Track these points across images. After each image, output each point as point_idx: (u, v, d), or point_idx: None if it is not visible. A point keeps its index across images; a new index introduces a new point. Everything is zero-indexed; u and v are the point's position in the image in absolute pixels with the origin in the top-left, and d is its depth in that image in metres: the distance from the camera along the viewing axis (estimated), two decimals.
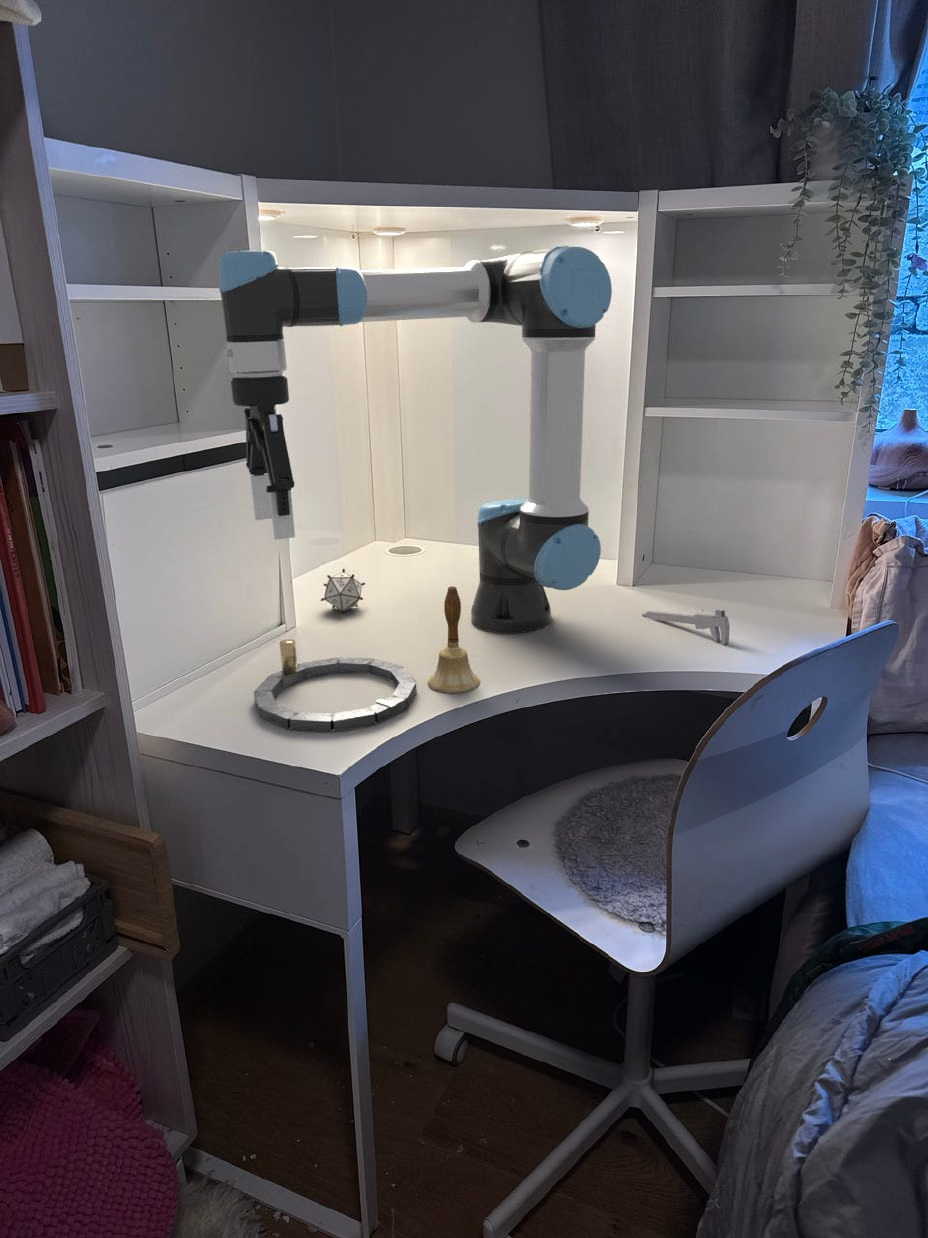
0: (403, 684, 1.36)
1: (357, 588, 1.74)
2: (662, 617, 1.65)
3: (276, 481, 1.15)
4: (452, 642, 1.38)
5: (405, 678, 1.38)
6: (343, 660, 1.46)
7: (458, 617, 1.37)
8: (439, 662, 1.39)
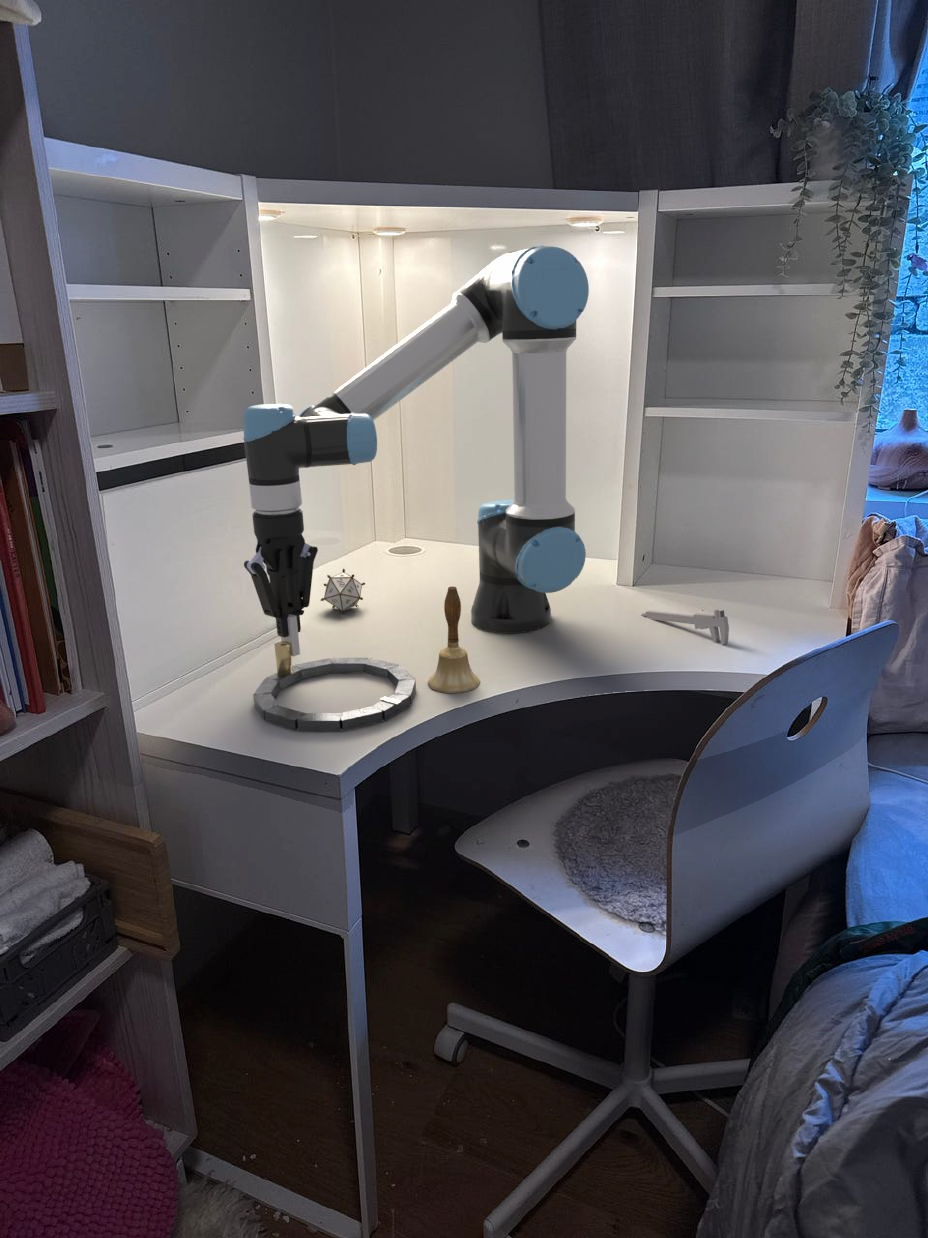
0: (403, 681, 1.37)
1: (357, 588, 1.74)
2: (662, 617, 1.65)
3: (264, 611, 1.38)
4: (452, 642, 1.38)
5: (403, 676, 1.39)
6: (337, 661, 1.46)
7: (458, 617, 1.37)
8: (439, 662, 1.39)
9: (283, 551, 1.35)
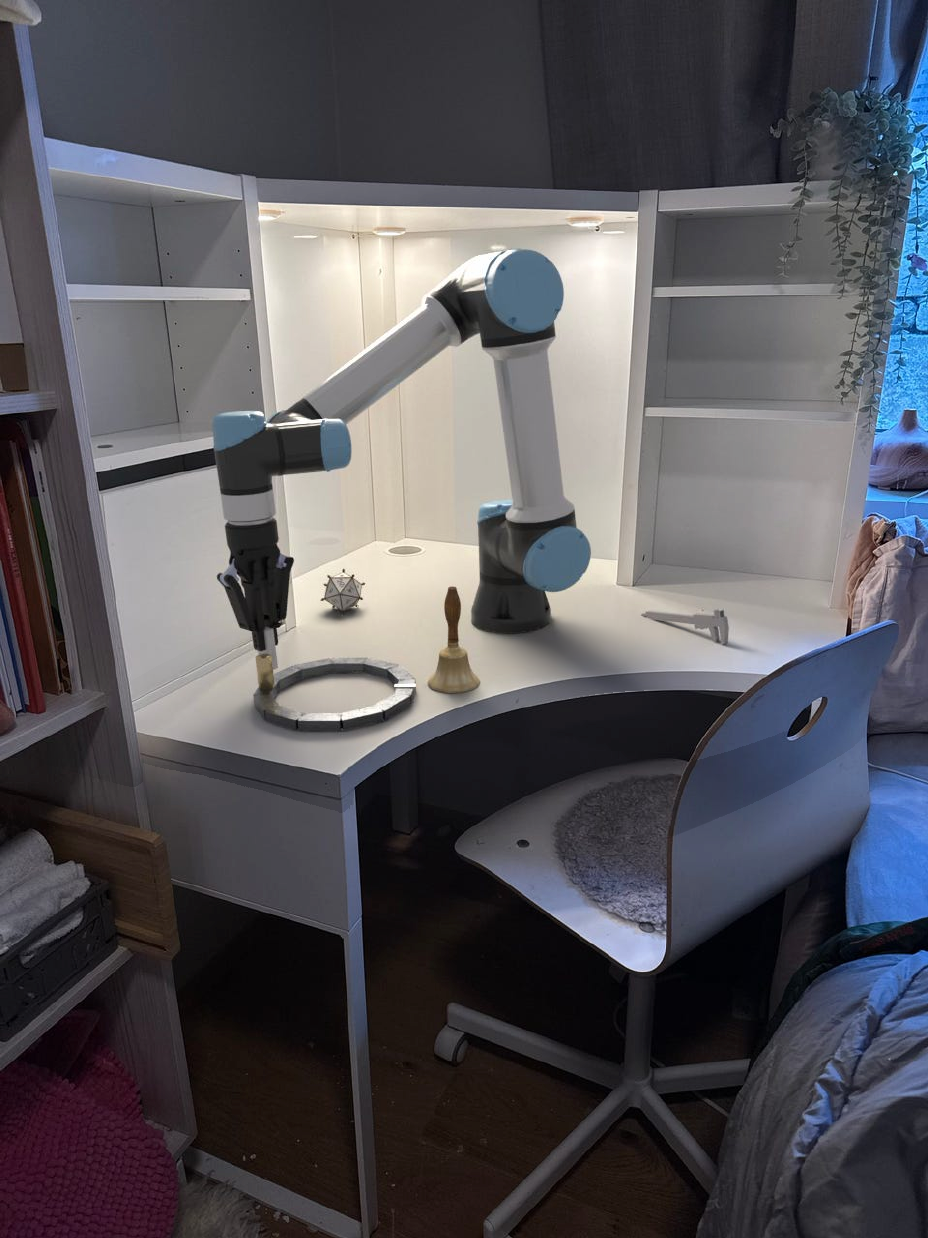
0: (392, 669, 1.42)
1: (357, 588, 1.74)
2: (661, 617, 1.65)
3: (239, 625, 1.34)
4: (452, 642, 1.38)
5: (386, 665, 1.44)
6: (303, 666, 1.44)
7: (458, 617, 1.37)
8: (439, 662, 1.39)
9: (257, 562, 1.31)
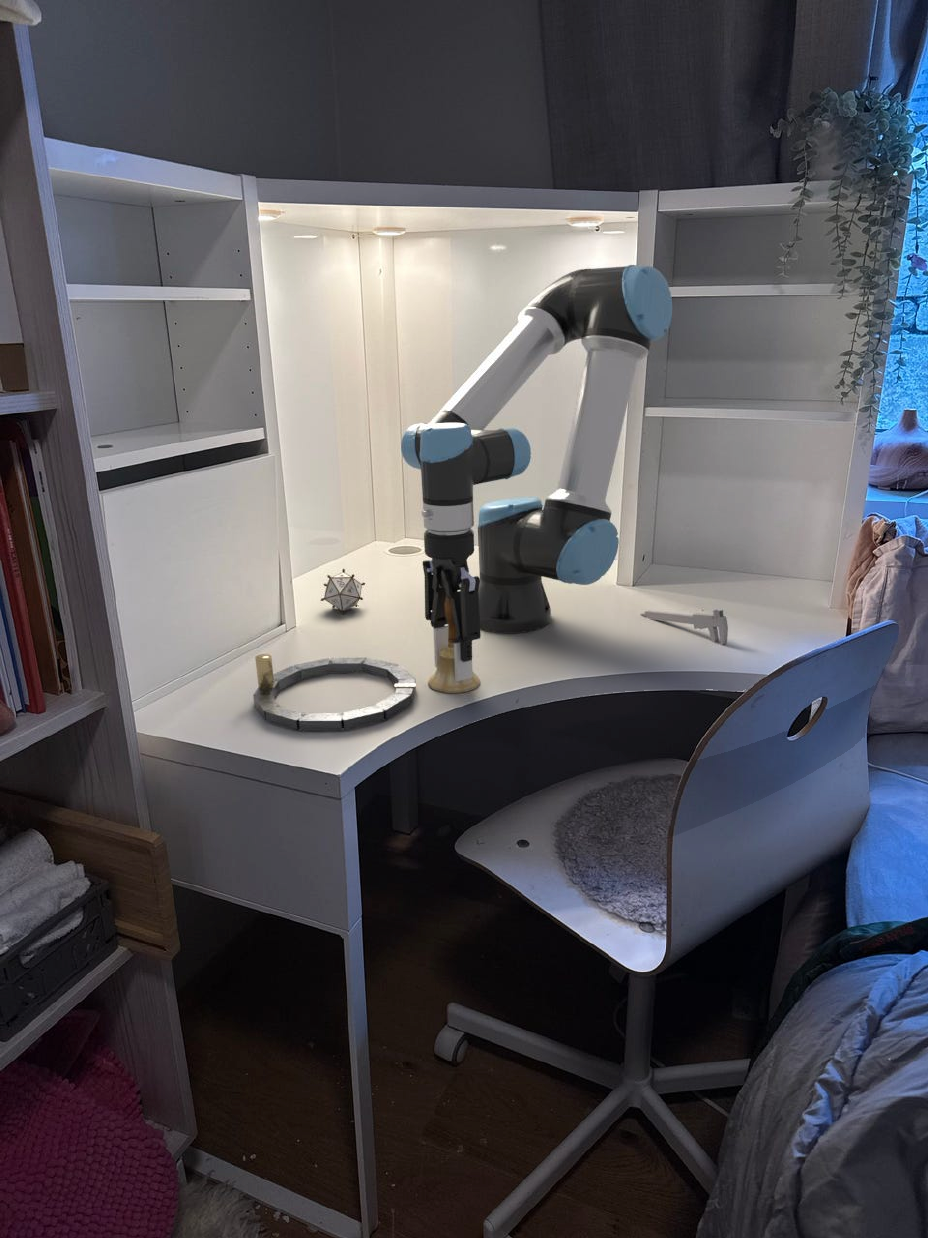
0: (391, 669, 1.42)
1: (357, 588, 1.74)
2: (661, 617, 1.65)
3: (467, 637, 1.32)
4: (452, 642, 1.38)
5: (385, 665, 1.44)
6: (303, 666, 1.44)
7: None
8: (439, 662, 1.39)
9: None
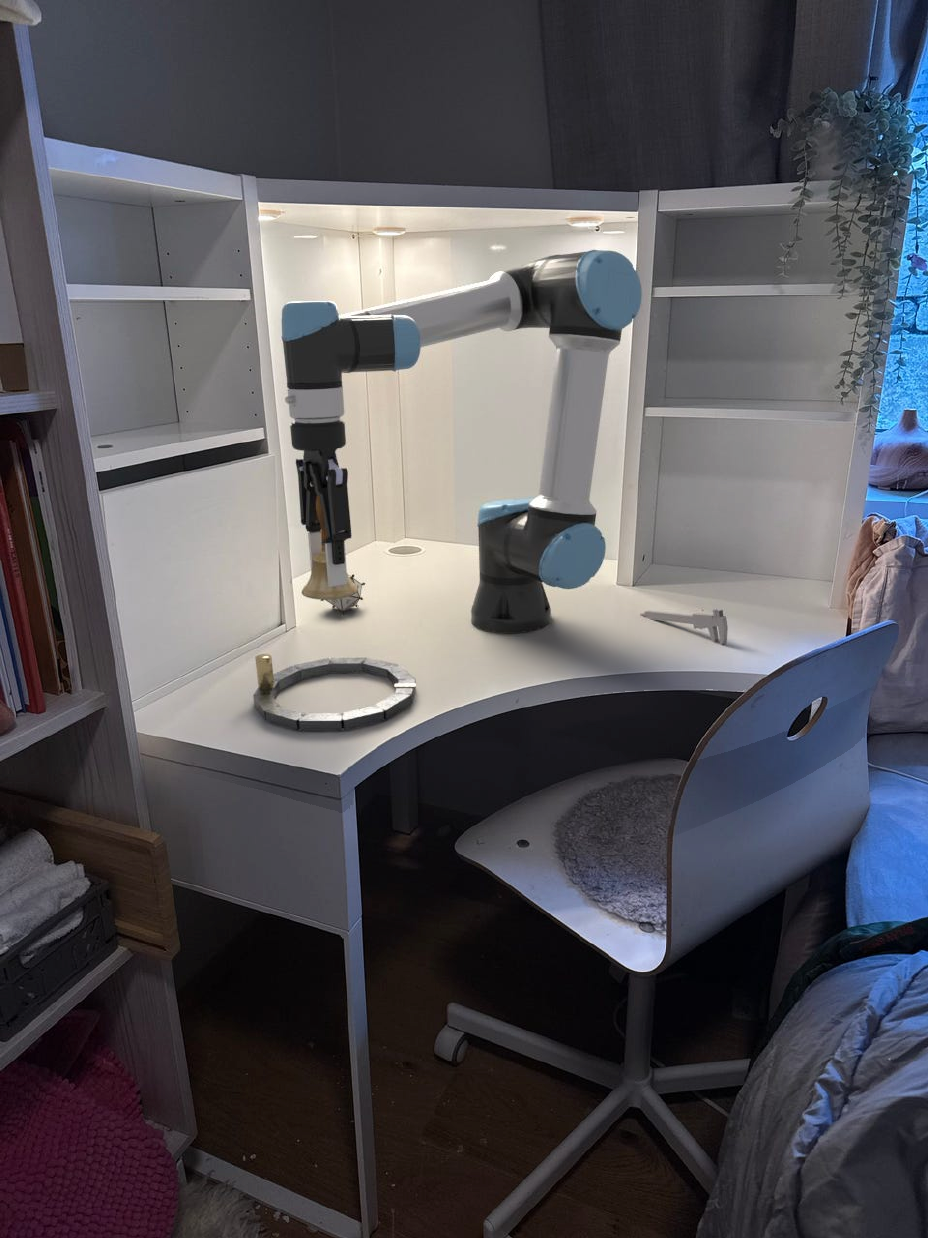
0: (391, 669, 1.42)
1: None
2: (660, 617, 1.65)
3: (336, 535, 1.22)
4: None
5: (385, 665, 1.44)
6: (303, 666, 1.44)
7: None
8: (312, 567, 1.29)
9: None
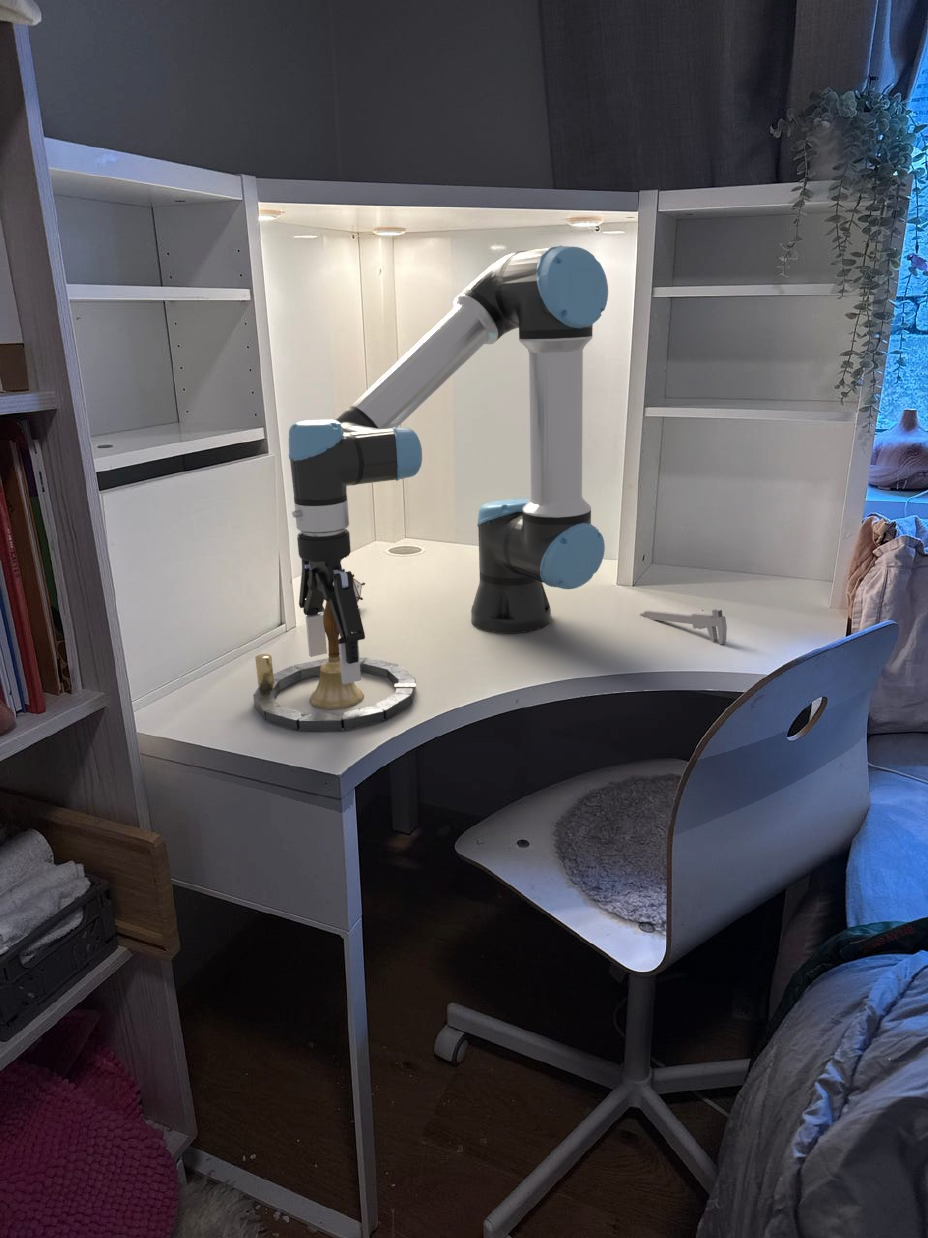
0: (391, 669, 1.42)
1: (357, 588, 1.74)
2: (660, 617, 1.65)
3: (349, 635, 1.24)
4: (332, 656, 1.34)
5: (385, 665, 1.44)
6: (303, 666, 1.44)
7: (337, 631, 1.32)
8: (320, 677, 1.35)
9: None
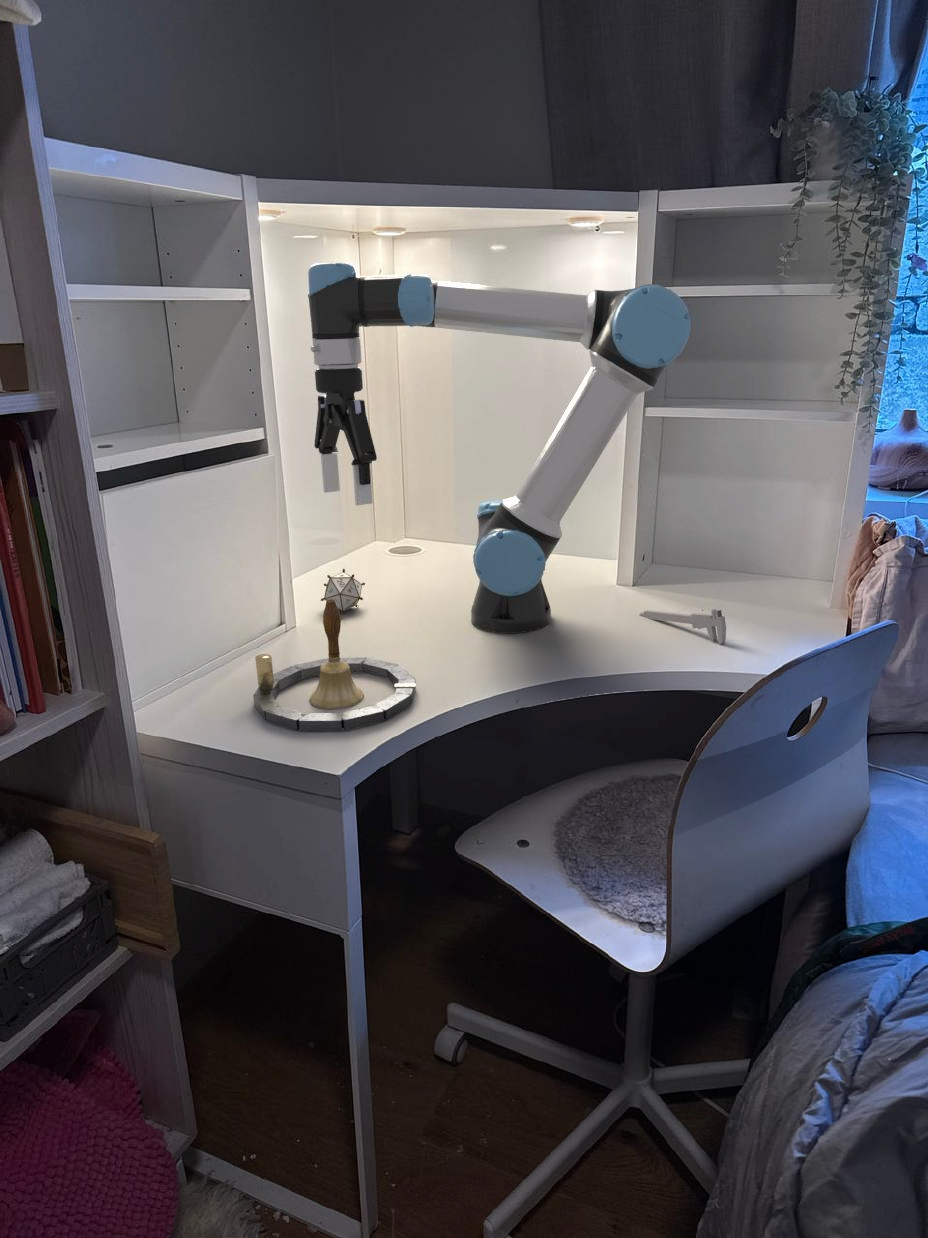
0: (391, 669, 1.42)
1: (357, 588, 1.74)
2: (659, 616, 1.65)
3: (363, 455, 1.38)
4: (332, 656, 1.34)
5: (385, 665, 1.44)
6: (303, 666, 1.44)
7: (337, 631, 1.32)
8: (320, 677, 1.35)
9: None
